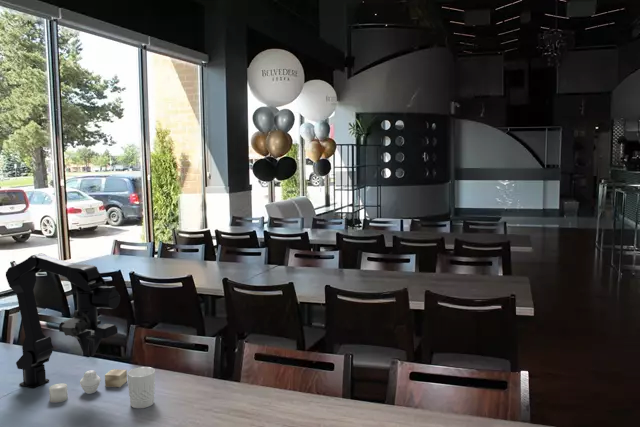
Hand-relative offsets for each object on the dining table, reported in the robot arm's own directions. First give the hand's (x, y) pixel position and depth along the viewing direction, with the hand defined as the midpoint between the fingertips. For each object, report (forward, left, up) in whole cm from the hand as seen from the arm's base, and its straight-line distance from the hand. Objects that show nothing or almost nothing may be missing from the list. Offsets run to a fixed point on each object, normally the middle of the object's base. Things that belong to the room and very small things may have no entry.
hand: (89, 354), depth 178 cm
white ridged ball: (0, 0, -12) cm, 12 cm away
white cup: (+21, -1, -12) cm, 24 cm away
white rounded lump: (-5, -8, -12) cm, 15 cm away
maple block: (+3, +8, -12) cm, 15 cm away
